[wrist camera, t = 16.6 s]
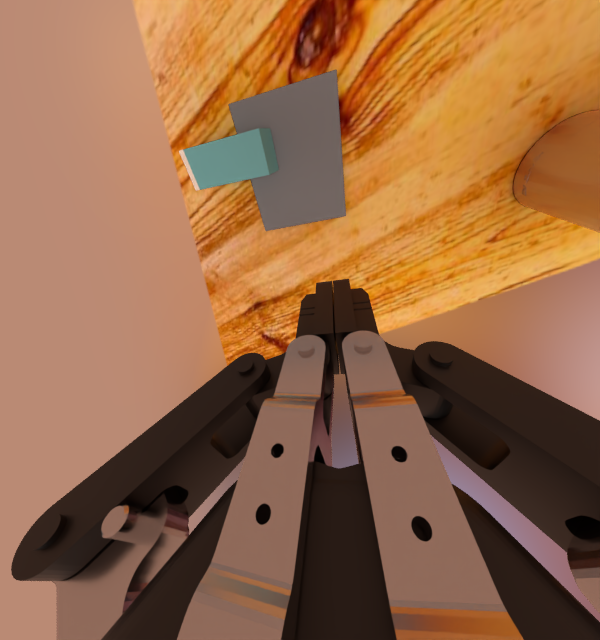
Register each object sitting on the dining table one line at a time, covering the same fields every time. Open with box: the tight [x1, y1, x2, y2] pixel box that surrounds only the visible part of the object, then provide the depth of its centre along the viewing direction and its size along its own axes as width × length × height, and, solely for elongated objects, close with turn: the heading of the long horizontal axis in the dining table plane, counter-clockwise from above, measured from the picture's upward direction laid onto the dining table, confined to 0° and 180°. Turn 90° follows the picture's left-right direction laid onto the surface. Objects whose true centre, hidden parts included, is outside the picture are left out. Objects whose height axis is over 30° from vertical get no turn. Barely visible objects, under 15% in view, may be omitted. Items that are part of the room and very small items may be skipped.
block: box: [179, 128, 279, 190], centre depth 26 cm, size 4×4×10 cm
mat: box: [229, 70, 346, 231], centre depth 28 cm, size 12×14×1 cm
